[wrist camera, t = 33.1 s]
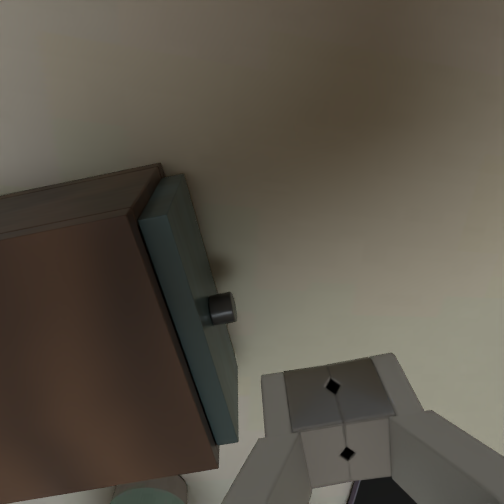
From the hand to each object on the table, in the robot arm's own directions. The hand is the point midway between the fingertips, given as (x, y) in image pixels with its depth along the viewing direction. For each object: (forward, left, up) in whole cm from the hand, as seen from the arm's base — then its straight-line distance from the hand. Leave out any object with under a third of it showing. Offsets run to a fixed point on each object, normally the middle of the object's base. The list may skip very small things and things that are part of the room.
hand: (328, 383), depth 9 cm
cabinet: (+13, -5, -14) cm, 20 cm away
